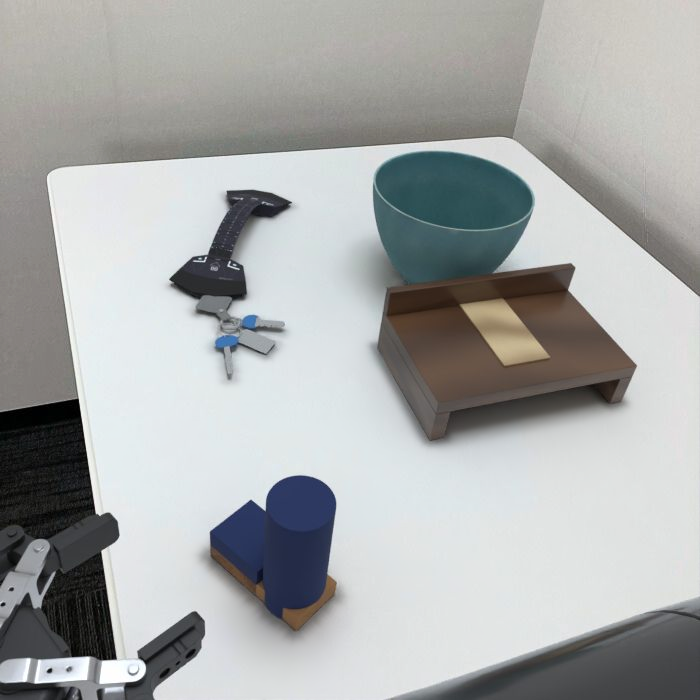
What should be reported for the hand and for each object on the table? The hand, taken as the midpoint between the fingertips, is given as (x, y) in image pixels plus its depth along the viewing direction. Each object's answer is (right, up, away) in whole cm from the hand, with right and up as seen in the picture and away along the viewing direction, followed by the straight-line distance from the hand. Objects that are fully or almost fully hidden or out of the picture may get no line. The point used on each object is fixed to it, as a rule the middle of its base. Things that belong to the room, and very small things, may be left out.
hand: (156, 571), depth 44 cm
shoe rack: (+27, +10, +38) cm, 47 cm away
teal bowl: (+22, +22, +51) cm, 59 cm away
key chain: (0, +15, +39) cm, 42 cm away
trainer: (+5, -5, +17) cm, 18 cm away
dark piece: (-3, +26, +52) cm, 58 cm away
